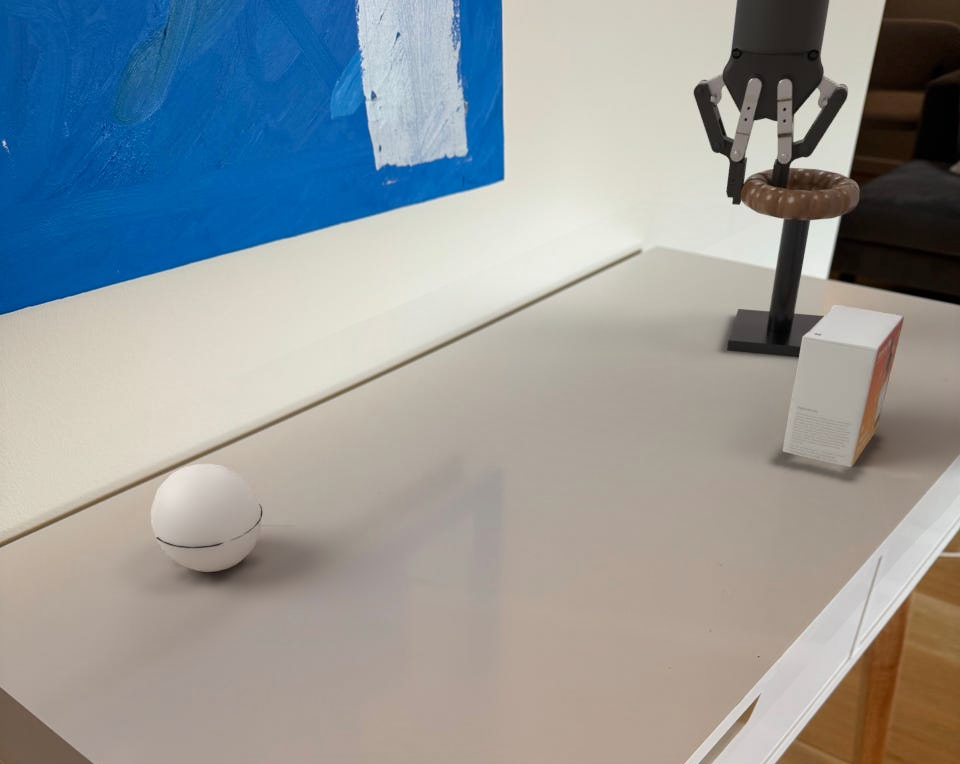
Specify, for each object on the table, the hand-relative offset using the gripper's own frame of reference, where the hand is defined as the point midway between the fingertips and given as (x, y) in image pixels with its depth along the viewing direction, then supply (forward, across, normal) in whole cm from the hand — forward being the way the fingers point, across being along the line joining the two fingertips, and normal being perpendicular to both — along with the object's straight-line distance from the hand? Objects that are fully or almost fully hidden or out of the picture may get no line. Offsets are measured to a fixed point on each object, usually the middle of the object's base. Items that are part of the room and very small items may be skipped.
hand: (754, 202), depth 94 cm
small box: (+13, +10, -24) cm, 29 cm away
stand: (+13, +4, 0) cm, 13 cm away
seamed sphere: (+13, -29, -52) cm, 61 cm away
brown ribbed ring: (-1, +4, 0) cm, 4 cm away
